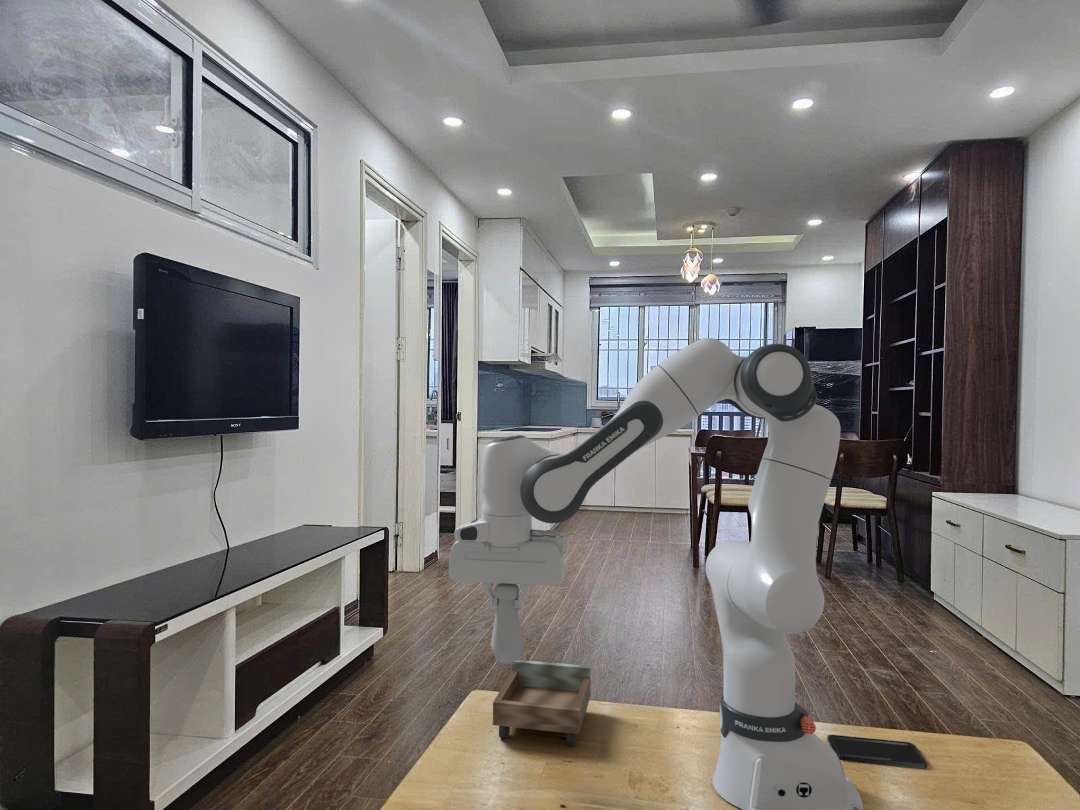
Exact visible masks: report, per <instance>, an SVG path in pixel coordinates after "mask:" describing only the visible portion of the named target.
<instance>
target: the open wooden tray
mask: <svg viewBox="0 0 1080 810" xmlns="http://www.w3.org/2000/svg"><path fill="white" fill-rule="evenodd" d="M511 663H512V665H511V666H512V669H511V672H510V673H509V676H508V677H507V679H506V680H505V682H504V683H503V685H502V686H501V688H500V690H499V692H498V693H497V695H496V697H495V698H494V700H493V701H492V725H493V726H498V737H499V738H500V739H509V736H510V732H511V728H516V729H527V730H536V731H543V732H544V731H545V732H546V731H547V732H554V733H555V732H556V733H563V734H566V745H567V746H573V747H574V746H576V744H577V735H580V734H581V729H582V726H583V723H584V719H585V717H586V713H587V710H588V706H589V703H590V699H591V693H592V692H591V691H592V690H591V688H592V687H591V686H592V684H591V681H592V680H591V678H592V676H591V675H592V671H591V670H592V669H591V668H592V667H591V665H583V664H582V665H581V664H572V663H571V664H570V663H561V662H559V663H557V662H546V661H538V660H537V661H535V660H524V659H518V660H517V661H514V662H511Z"/></svg>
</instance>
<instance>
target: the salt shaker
mask: <svg viewBox="0 0 1080 810" xmlns="http://www.w3.org/2000/svg"><path fill="white" fill-rule="evenodd" d="M494 593H495V597H496V598H497V599H498V608H495V615H494V620H493V621H494V622H493V628H492V634H491V641H490V648H491V651H492V653H493V655H494V657H495V658H494V659H496V661H497V662H498V663H506V664H509V663H512V662H514V661H517V660H519V659H520V656H521V654H522V652H523V650H524V647H525V644H524V636H523V631H522V626H521V622H520V616H519V610H518V609H515V608H514V606H515V604H514V599H516V598H518V597H520V586H519V584H505V583H497V584H496V585H495V587H494Z"/></svg>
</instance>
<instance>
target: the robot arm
mask: <svg viewBox="0 0 1080 810" xmlns="http://www.w3.org/2000/svg"><path fill="white" fill-rule="evenodd" d="M723 400H724V401H725V402H726V403H728V404H730V405H731V406H732V407H734V408H735V409H737V410H738V411H740V412H741V413H743V414H744V415H747V416H748V417H751V418H754V419H760V420H765V421H766V423H767V426H768V437H767V444H766V446H765V449H764V452H763V455H762V458H761V460H760V463H759V467H758V469H757V473H756V477H755V479H754V482H753V485H752V488H751V492H750V494H749V497H748V503H747V505H748V511H749V515H750V519H751V520H750V521H751V532H750V533H751V535H750V536H751V537H750V541H746V540H726V541H723V542H720V543H719V544H717V545H715V546H714V547H713V548H712V549H711V551H710V552H709V554H708V555H707V558H706V562H705V574H706V578H707V581H708V583H709V585H710V587H711V591H712V595H713V599H714V605H715V611H716V616H717V622H718V626H719V631H720V638H721V645H722V654H723V655H722V657H723V659H722V661H723V663H722V664H723V666H722V667H723V670H722V671H723V677H722V678H723V685H722V686H723V693H722V694H721V696H720V704H719V729H720V733H721V735H720V736H721V739H720V746H719V752H718V758H717V762H716V766H715V769H714V770H715V771H714V773H713V776H712V782H711V783H712V785H713V788H714V790H715V791H716V792H717V794H718V795H719V796H721V798H723V800H725V801H726V802H728V803H729V804H730V805H733V806H735V807H737V808H739V809H741V810H864V804H863V801H862V797H861V795H860V793H859V791H858V789H857V788H856V786H855V784H854V783H853V782H852V781H851V780H850V778H848V777H847V776H846V772H845V770H844V767H843V764H842V760H839V758H838V756H837V754H836V753H835V752H834V750H833V749H832V748H831V747H830V746H829V744H828V742H827V743H826V741H824V740H823V739H821V737H819V736H818V735H817V734H816V733H815V732H816V729H817V727H816V724H815V722H814V720H813V718H811V717H809V713H808V711H807V709H805V708H804V706H803V705H802V703H801V702H800V701H797V702H798V703H797V702H796V660H795V655H794V652H793V650H792V647H791V645H790V644H789V642H788V639H787V636H786V634H789V635H797V634H801V633H805V632H807V631H809V630H810V629H812V628H813V627H814V626H815V625H816V624H817V622H818V621H819V620H820V618H821V617H822V614H823V612H824V607H825V594H824V590H823V588H822V585H821V584H820V583H821V582H820V580H819V578H818V573H817V572H818V571H817V563H816V562H817V559H816V556H817V554H816V553H817V552H816V551H817V550H816V546H817V535H818V534H817V533H818V527H819V524H820V523H819V522H820V518H821V514H822V512H823V507H824V506H825V505H824V504H825V500H826V497H827V494H828V491H829V489H830V485H831V481H832V479H833V475H834V471H835V467H836V463H837V459H838V453H839V448H840V440H841V424H840V420H839V419H838V417H837V416H836V415H835V414H834V413H833V412H832V411H831V410H829V409H828V408H825V407H823V406H821V405H818V404H816V403H817V400H818V395H817V391H816V387H815V384H814V379H813V373H812V369H811V366H810V363H809V361H808V359H807V358H806V357H805V355H804V354H803V353H802V352H801V351H799V350H798V349H797V348H796V347H793V346H791V345H788V344H784V343H769V344H764V345H762V346H759V347H757V348H756V349H755V350H753V351H751V353H750V354H749V355H748V356H741V355H738V354H736V353H734V352H733V351H732V349H731V348H730V347H729V346H728V345H726V344H725V343H724V342H722V341H720V340H719V339H716V338H713V337H703V338H700V339H698V340H696V341H694V342H692V343H690V344H688V345H686V346H684V347H682V348H680V349H679V350H678V351H676V352H674V353H672V354H671V355H670V356H668V357H667V358H665V359H664V360H662V361H661V362H660V363H658V364H657V365H655V367H653V368H652V369H651V370H650V371H649V372H647V373H646V374H645V375H644V376H643V377H642V378H641V379H639V381H638V382H637V383H636V384H635V385H634V386H633V388H632V389H630V391H629V393H627V395H626V397H625V399H624V400H623V402H622V404H621V406H620V407H619V409H618V411H616V413H615V414H614V415H613V417H612V418H611V419H610V420H609V421H608V422H607V423H606V424H605V425H604V426H602V427H601V428H600V429H598V430H596V432H594V433H593V434H592V435H591V436H589V437H588V438H587V439H585V440H584V441H583V442H581V443H580V444H578V445H577V446H576V447H575V448H574V449H572V450H571V451H569V452H568V453H566V454H562V453H558V452H555V451H552V450H549V449H547V448H545V447H543V446H540V445H539V444H537V443H535V442H533V441H532V440H530V439H529V437H527V436H526V435H522V434H519V435H510V436H505V437H500V438H497V439H494V440H492V441H490V442H489V443H488V444H487V445H485V447H484V449H483V453H482V459H481V467H480V469H481V471H480V488H481V492H482V496H483V497H482V498H483V501H482V505H481V510H480V518H477V519H473V520H471V521H468V522H466V523H465V522H464V523H463V524H461V525H459V526H458V527H456V528H455V530H454V539H455V540H456V541H455V542H454V543H453V544H452V546H451V548H450V552H449V553H450V554H449V562H448V575H449V577H450V578H451V580H452V581H453V582H465V583H466V582H468V583H482V588H483V591H484V593H485V594H486V596H487V598H488V599H489V608H490V609H496V608H498V599H497V598H496V597H495V590H493V586H494V585H495V584H500V583H505V584H517V585H519V591H522V593H521V595H519V597H518V598H516V599H514V604H515V606H514V608H515V609H518V611H520V610H521V611H523V610H524V609H525V598H526V596H527V595H528V593H529V591H530V589H531V587H532V586H545V587H547V586H550V587H558V586H560V585H561V584H562V583H563V582H564V580H565V577H566V569H565V560H564V555H565V553H566V550H567V549H566V548H567V544H566V543H567V541H566V538H565V536H564V535H562V534H561V533H560V532H558V530H554V529H549V530H544V529H533V525H532V523H533V521H532V520H533V518H534V519H535V520H537V521H540V522H542V523H547V524H558V523H563V522H566V521H568V520H570V519H571V518H572V517H573V516H574V515H575V514H576V513H577V512H578V511H579V509H580V508H581V506H582V504H583V502H584V500H585V498H586V497H587V495H588V493H589V492H590V490H591V489H592V488H593V487H594V485H596V484H597V483H598V482H599V481H600V480H602V478H604V477H605V476H606V475H608V474H609V473H610V472H611V471H612V470H613V469H616V467H618V466H619V465H620V464H621V463H622V462H624V461H625V460H626V459H628V457H631V456H632V455H633V454H634V453H635V452H637V451H639V450H640V449H642V448H644V447H646V446H648V445H650V444H652V443H654V442H656V441H659V440H661V439H662V438H664V437H667V436H668V435H671V434H673V433H675V432H676V431H678V430H680V429H681V428H684V427H685V426H686V425H688V424H689V423H691V422H692V421H694V420H695V419H696V418H698V417H699V416H700V415H701V414H702V413H704V412H706V410H708V409H709V408H710V407H712V406H713V405H716V404H717V403H718V402H721V401H723ZM532 517H533V518H532Z"/></svg>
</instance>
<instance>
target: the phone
mask: <svg viewBox="0 0 1080 810" xmlns="http://www.w3.org/2000/svg"><path fill="white" fill-rule="evenodd" d="M826 741H827V744H828V743H829V744H828V745H830V747H831V748H832V749H833V750H834V752H835V753H836V754H837V756H838V758H839V760H840V761H841V762H851V763H853V762H854V763H861V762H862V764H871V765H872V764H873V765H881V766H882V765H883V766H890V767H900V768H906V769H907V768H909V769H917V770H926V769H927V768H928V762H927V760H926V759H925V758H924V756H923V754H921V752H920V750H919V748H918V747H917V746H916V744H914V743H912V742H909V741H899V740H890V739H879V738H872V737H871V738H868V737H859V736H848V735H839V734H828V735H827V738H826Z"/></svg>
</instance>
